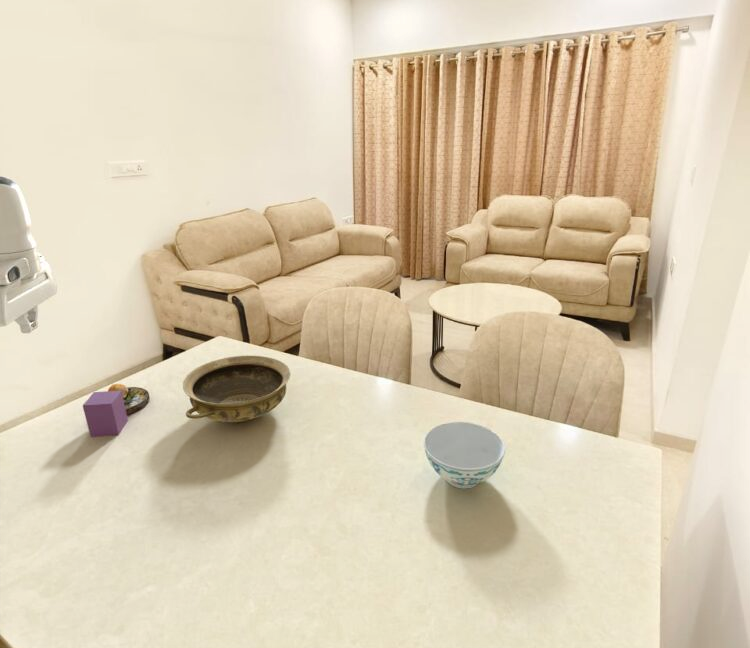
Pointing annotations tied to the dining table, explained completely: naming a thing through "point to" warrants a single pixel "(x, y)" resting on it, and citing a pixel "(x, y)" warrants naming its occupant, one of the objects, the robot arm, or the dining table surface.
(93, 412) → the block
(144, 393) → the dark lid with knob
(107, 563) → the dining table surface
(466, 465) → the chinaware
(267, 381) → the ceramic bowl
